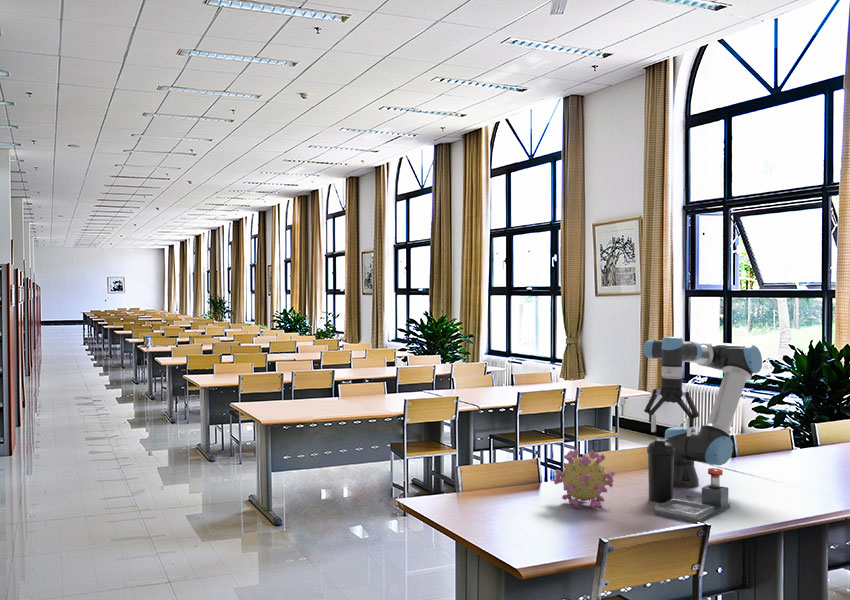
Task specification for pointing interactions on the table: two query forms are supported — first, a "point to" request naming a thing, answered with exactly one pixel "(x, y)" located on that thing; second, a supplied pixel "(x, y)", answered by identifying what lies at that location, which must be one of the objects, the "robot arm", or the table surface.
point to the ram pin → (715, 477)
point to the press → (695, 505)
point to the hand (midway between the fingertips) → (670, 433)
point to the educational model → (584, 478)
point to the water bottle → (660, 470)
